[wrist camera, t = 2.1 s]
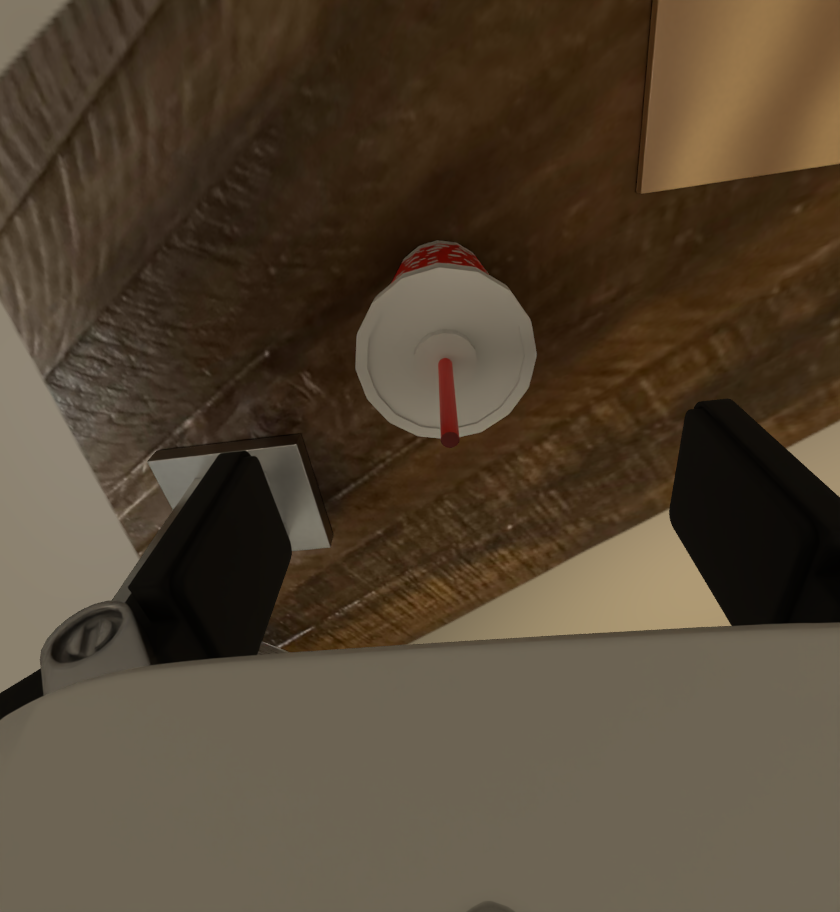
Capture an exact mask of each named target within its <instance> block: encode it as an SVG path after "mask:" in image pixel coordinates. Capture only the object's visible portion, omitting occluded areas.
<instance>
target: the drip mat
mask: <svg viewBox="0 0 840 912" xmlns="http://www.w3.org/2000/svg"><path fill="white" fill-rule="evenodd" d="M835 164H840V0H653V2H652V14H651V26H650V37H649V49H648V61H647V72H646V84H645V96H644V107H643V119H642V130H641V142H640V154H639V165H638V177H637V189H636V193H639V194H645V193H652V192H658V191H665V190H672V189H678V188H685V187H691V186H698V185H704V184H711V183H717V182H724V181H730V180H737V179H743V178H750V177H756V176H763V175H770V174H776V173H783V172H789V171H796V170H802V169H809V168H815V167H822V166H828V165H835Z"/></svg>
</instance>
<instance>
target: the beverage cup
mask: <svg viewBox="0 0 840 912" xmlns="http://www.w3.org/2000/svg"><path fill="white" fill-rule="evenodd" d="M536 356H537V353H536V347H535V341H534V335H533V330H532V324H531V320H530V318H529V317H528V315H527V314H526V312H525V311H524V309H523V308H522V307H521V305H520V304H519V302H518V301H517V299H516V298H515V296H514V295H513V294H512V292H511V291H510V289H509V288H508V287H507V285H505V284H503V283H502V282H500V281H498V280H497V279H495V278H493V277H492V276H490V275H489V274H488V273H487V271H486V270H485V268H484V267H483V266H482V264H481V263H480V262H479V260H478V259H477V258H476V256H475V255H474V253H473V252H471V251H470V250H468V249H466V248H465V247H463V246H461V245H460V244H458V243H456V242H448V241H439V240H436V241H433V242H430V243H427V244H423V245H420V246H418V247H417V248H416V249H414V250H413V251H412V252H411V253H410V254H409V255H407V256H406V257H405V258H404V259H403V261H402V263H401V265H400V267H399V269H398V271H397V273H396V274H395V276H394V278H393V280H392V282H391V284H390V285H389V286H388V287H386V288H385V289H384V290H383V291H382V292H380V293H379V294H378V295H377V296H376V297H375V299H374V300H373V302H372V304H371V306H370V308H369V310H368V312H367V314H366V316H365V318H364V320H363V323H362V325H361V327H360V329H359V331H358V333H357V340H356V366H355V369H356V372H357V374H358V377H359V379H360V382H361V385H362V387H363V390H364V392H365V395H366V397H367V400H368V401H369V402H370V403H371V404H372V405H373V406H374V407H375V408H376V409H377V410H378V411H379V412H380V413H381V414H382V415H383V416H384V417H385V418H386V419H387V421H388V422H390V423H392V424H394V425H396V426H398V427H400V428H402V429H404V430H406V431H408V432H410V433H413V434H415V435H417V436H422V437H432V438H441V443H442V444H443V445H444V446H445V447H448V448H452V447H455V446H456V445H457V444H458V443H459V440H460V439H459V437H462V436H466V435H470V434H475V433H479V432H482V431H484V430H485V429H487V428H488V427H490V426H491V425H493V424H494V423H496V422H498V421H499V420H501V419H502V418H504V417H505V416H507V415H508V414H509V413H510V412H511V411H512V409H513V408H514V407H515V405H516V404H517V403H518V401H519V400H520V399H521V397H522V396H523V395H524V393H525V392H526V390H527V389H528V388H529V384H530V380H531V376H532V372H533V368H534V364H535V360H536Z"/></svg>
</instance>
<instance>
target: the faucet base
mask: <svg viewBox="0 0 840 912" xmlns="http://www.w3.org/2000/svg"><path fill="white" fill-rule="evenodd" d="M236 451H247V452H249V454H250V455H251V456H256V457H257V458H258V459H259V461H260V464H261V466H262V469H263V472H264V474H265V477H266V479H267V482H268V485H269V487H270V490H271V493H272V495H273V498H274V500H275V503H276V506H277V508H278V511H279V513H280V516H281V519H282V521H283V524H284V526H285V529H286V532H287V534H288V537H289V540H290V542H291V547H292V551H298V550H309V549H319V548H330V547H331V543H332V539H333V532H332V529H331V526H330V523H329V520H328V517H327V514H326V510H325V507H324V504H323V501H322V498H321V495H320V492H319V488H318V485H317V482H316V479H315V476H314V473H313V470H312V467H311V463H310V460H309V457H308V454H307V451H306V448H305V445H304V441H303V438H302V435H301V434H296V435H287V436H279V437H270V438H262V439H253V440H244V441H236V442H227V443H219V444H210V445H202V446H193V447H184V448H176V449H167V450H159V451H156V452H155V453H154V454H153V455H152V456H151V458H150V459H149V460H148V461H147V462H148V464H149V466H150V468H151V470H152V472H153V474H154V475H155V477H156V479H157V481H158V483H159V485H160V487H161V489H162V490H163V492H164V494H165V496H166V498H167V500H168V502H169V503H170V505H171V507H172V509H173V511H172V513H171V514H170V515H169V517H168V518H167V520H166V521H165V523H164V524H163V526H162V527H161V529H160V530H159V532H158V533H157V535H156V536H155V538H154V539H153V541H152V542H151V543H150V545H149V546H148V548H147V549H146V551H145V552H144V554H143V555H142V557H141V558H140V560H139V561H138V563H137V564H136V566H135V567H134V569H133V570H132V571H131V573H130V574H129V576H128V578H127V579H126V580H125V582H124V583H123V585H122V586H121V588H120V589H119V591H118V592H117V594H116V595H115V596H114V598H113V599H112V601H121V602H124V603H125V602H126V600H127V599H128V597H129V596H130V594H131V592H130V590H129V589H128V586H129V584H130V583H131V581H132V580H133V579H134V577H135V576H136V574H137V573H138V571H139V570H140V568H141V567H142V565H143V564H144V563H145V561H146V560H147V558H148V557H149V555H150V554H151V552H152V551H153V549H154V548H155V547H156V545H157V544H158V542H159V541H160V539H161V538H162V536H163V535H164V533H165V532H166V530H167V529H168V528H169V526H170V525H171V523H172V522H173V520H174V519H175V517H176V516H177V514H178V513H179V512H180V510H181V509H182V507H183V506H184V504H185V503H186V501H187V500H188V498H189V497H190V496H191V494H192V493H193V491H194V490H195V488H196V487H197V485H198V484H199V482H200V481H201V480H202V478H203V477H204V475H205V474H206V472H207V471H208V469H209V468H210V466H211V465H212V464H213V462H214V461H215V459H216V458H217V456H218V455H219V454H220V453H227V452H236Z"/></svg>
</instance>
